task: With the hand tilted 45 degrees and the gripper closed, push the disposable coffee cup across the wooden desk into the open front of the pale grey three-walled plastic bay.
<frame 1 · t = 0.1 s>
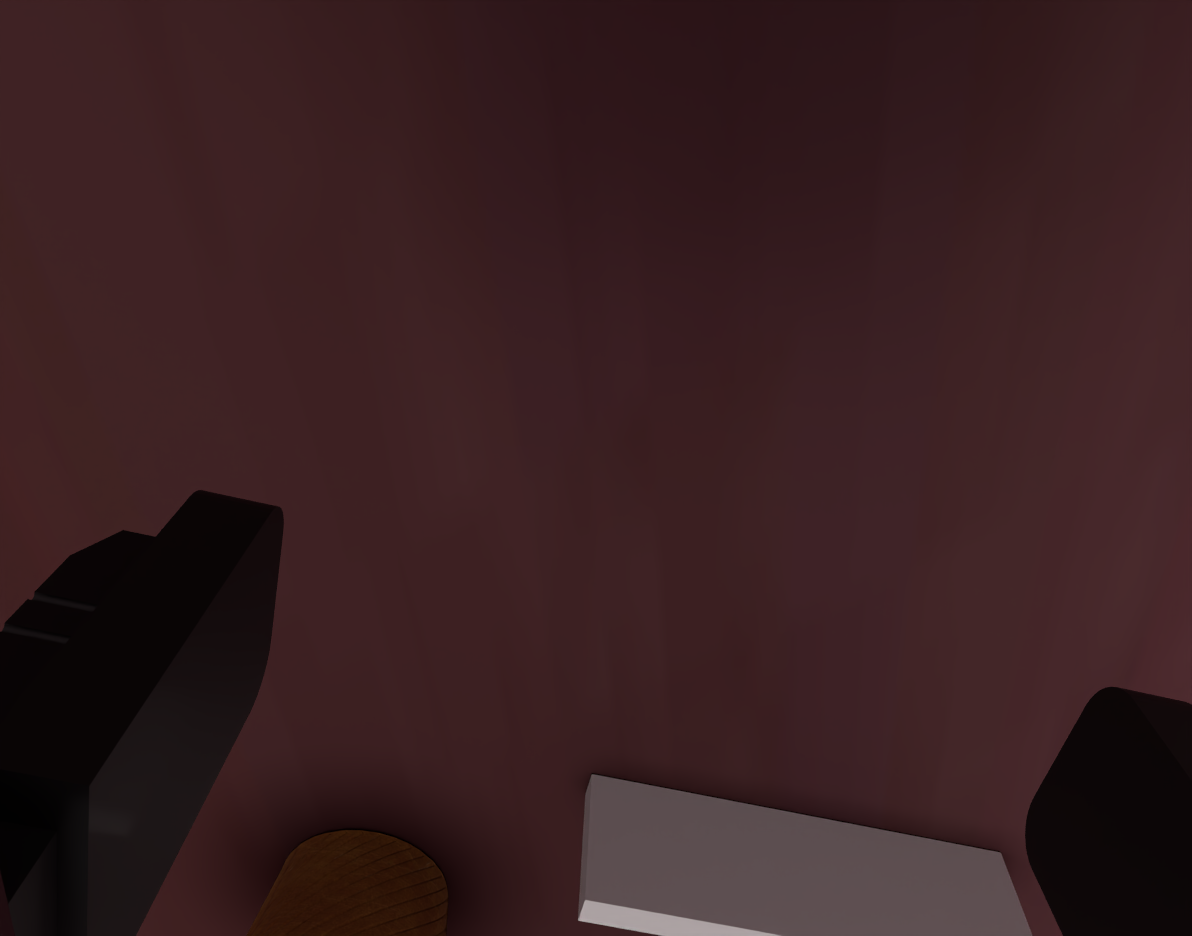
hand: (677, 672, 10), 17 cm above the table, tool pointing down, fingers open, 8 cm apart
disposable coffee cup: (366, 880, 38), on the table
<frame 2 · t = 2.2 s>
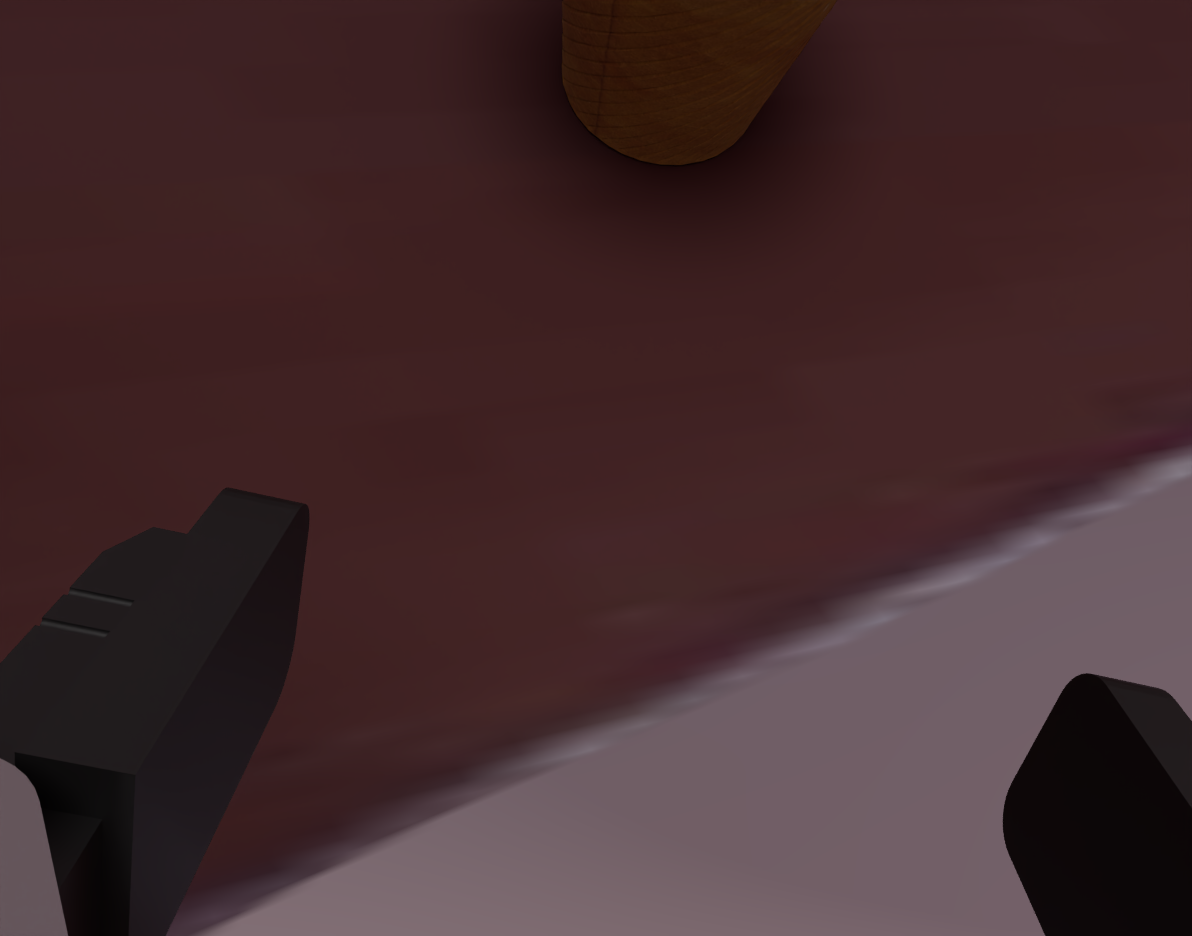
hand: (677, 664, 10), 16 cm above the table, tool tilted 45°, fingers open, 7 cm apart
disposable coffee cup: (658, 85, 32), on the table
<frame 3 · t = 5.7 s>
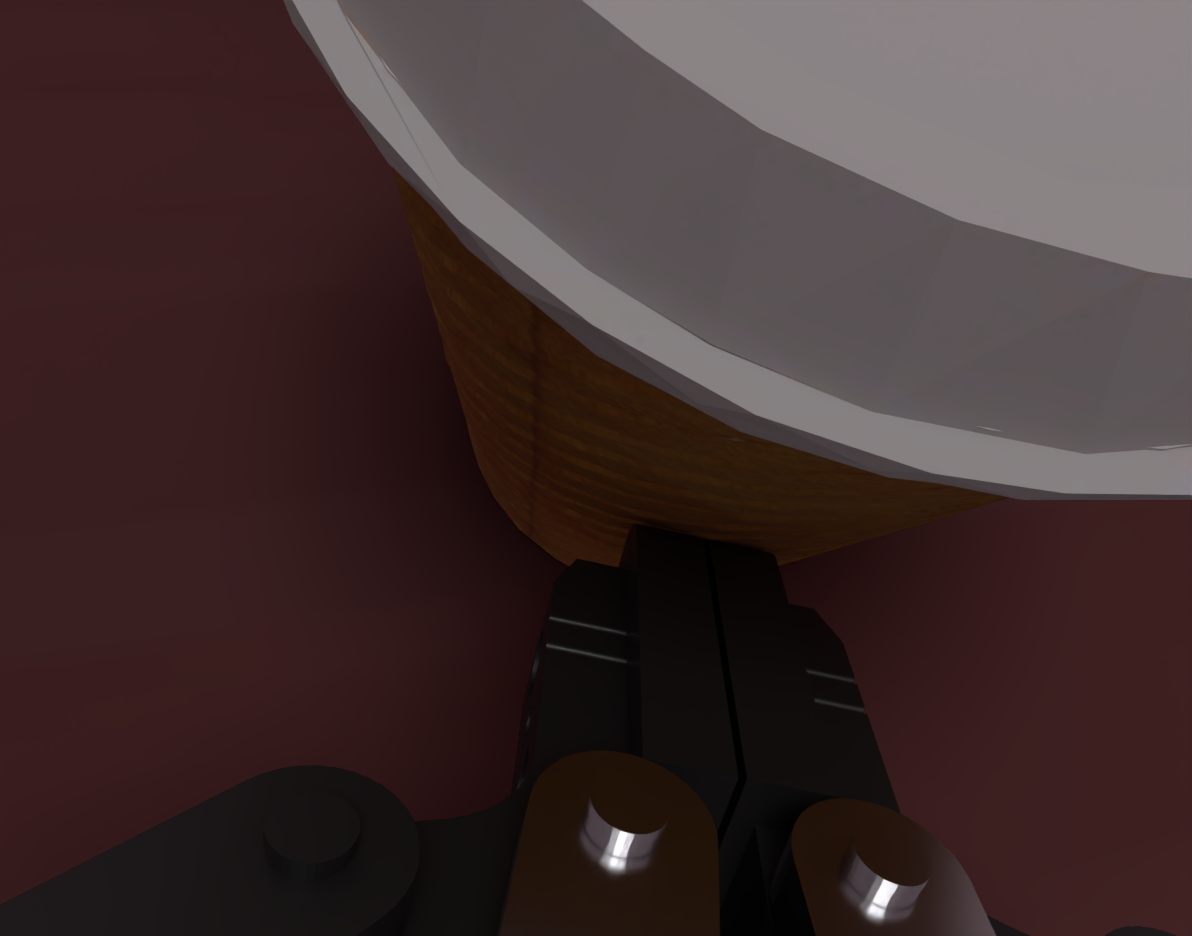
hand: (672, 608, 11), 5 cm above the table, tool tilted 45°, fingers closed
disposable coffee cup: (653, 411, 17), on the table, touching gripper
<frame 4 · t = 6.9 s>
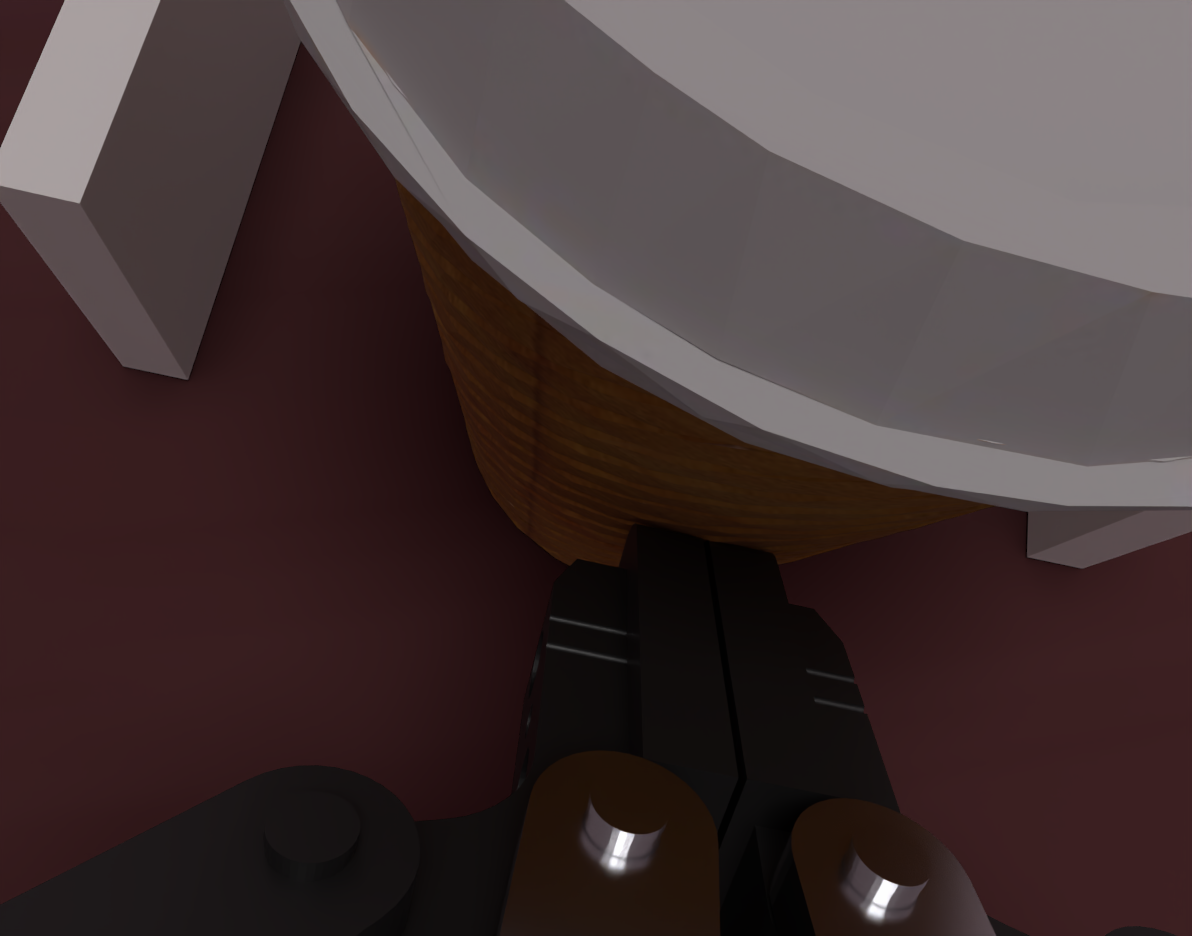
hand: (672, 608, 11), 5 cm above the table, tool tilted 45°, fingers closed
grey bay: (686, 98, 19), on the table
disposable coffee cup: (651, 409, 17), on the table, touching gripper
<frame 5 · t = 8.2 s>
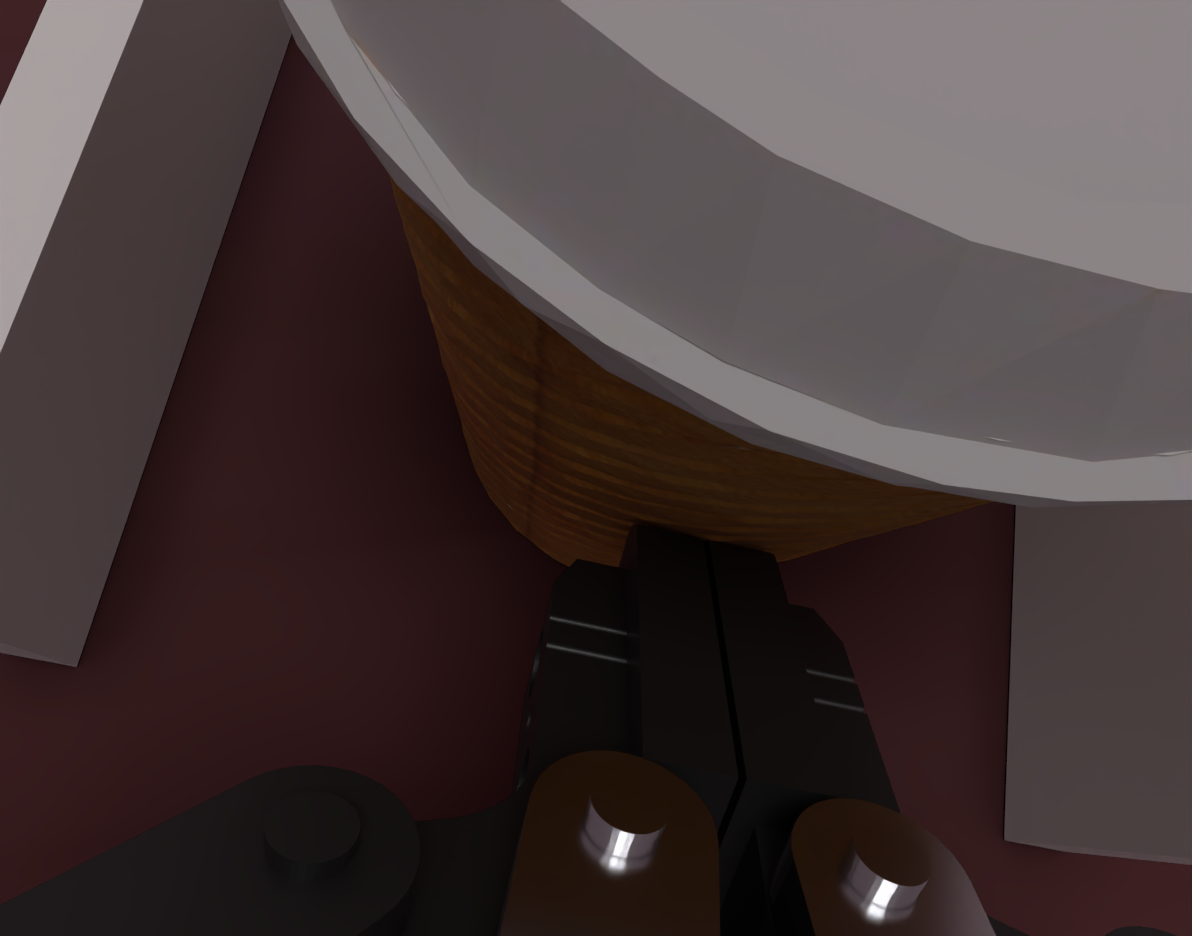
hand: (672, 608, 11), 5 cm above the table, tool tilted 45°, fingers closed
grey bay: (639, 310, 17), on the table
disposable coffee cup: (646, 409, 17), on the table, touching gripper
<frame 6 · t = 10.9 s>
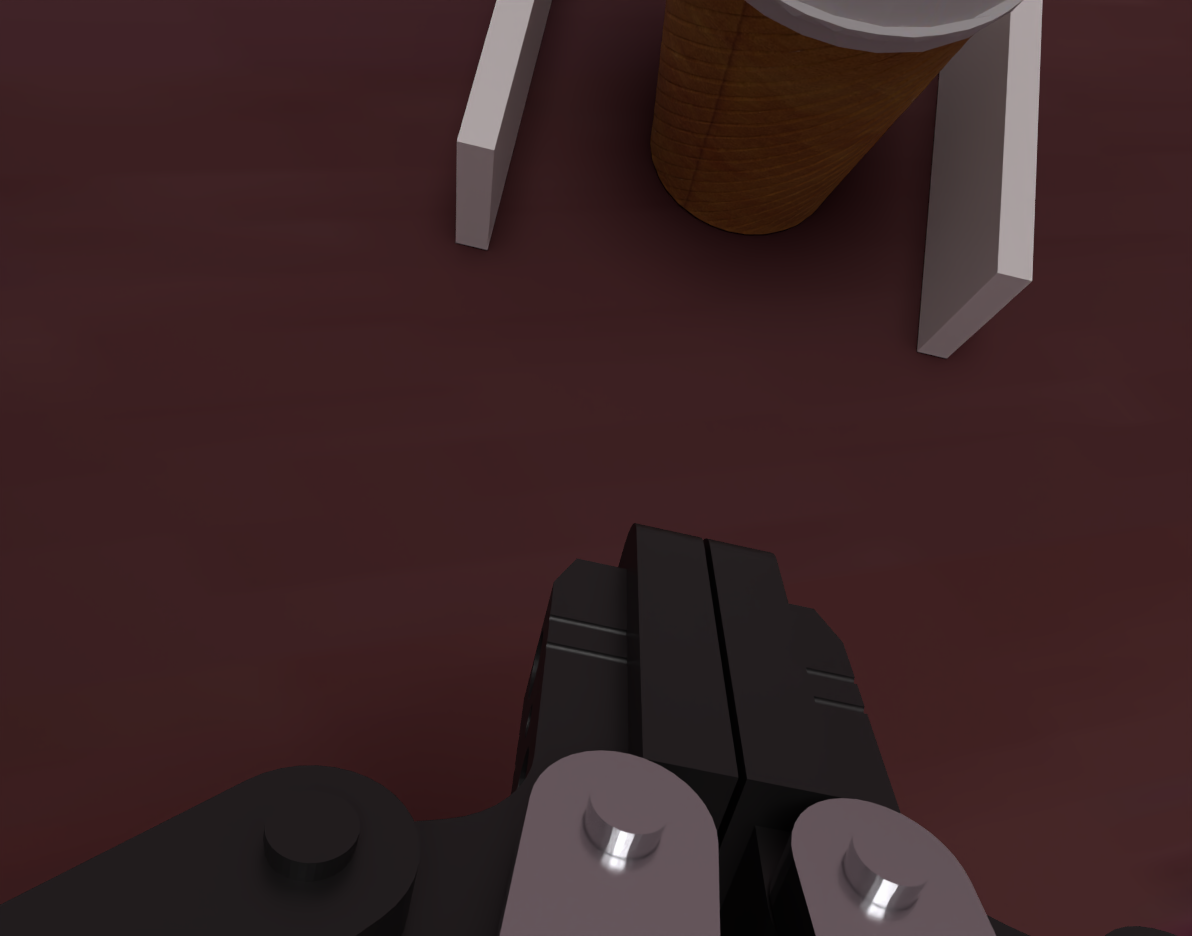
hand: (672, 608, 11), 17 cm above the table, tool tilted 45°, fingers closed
grey bay: (737, 111, 34), on the table
disposable coffee cup: (740, 157, 34), on the table
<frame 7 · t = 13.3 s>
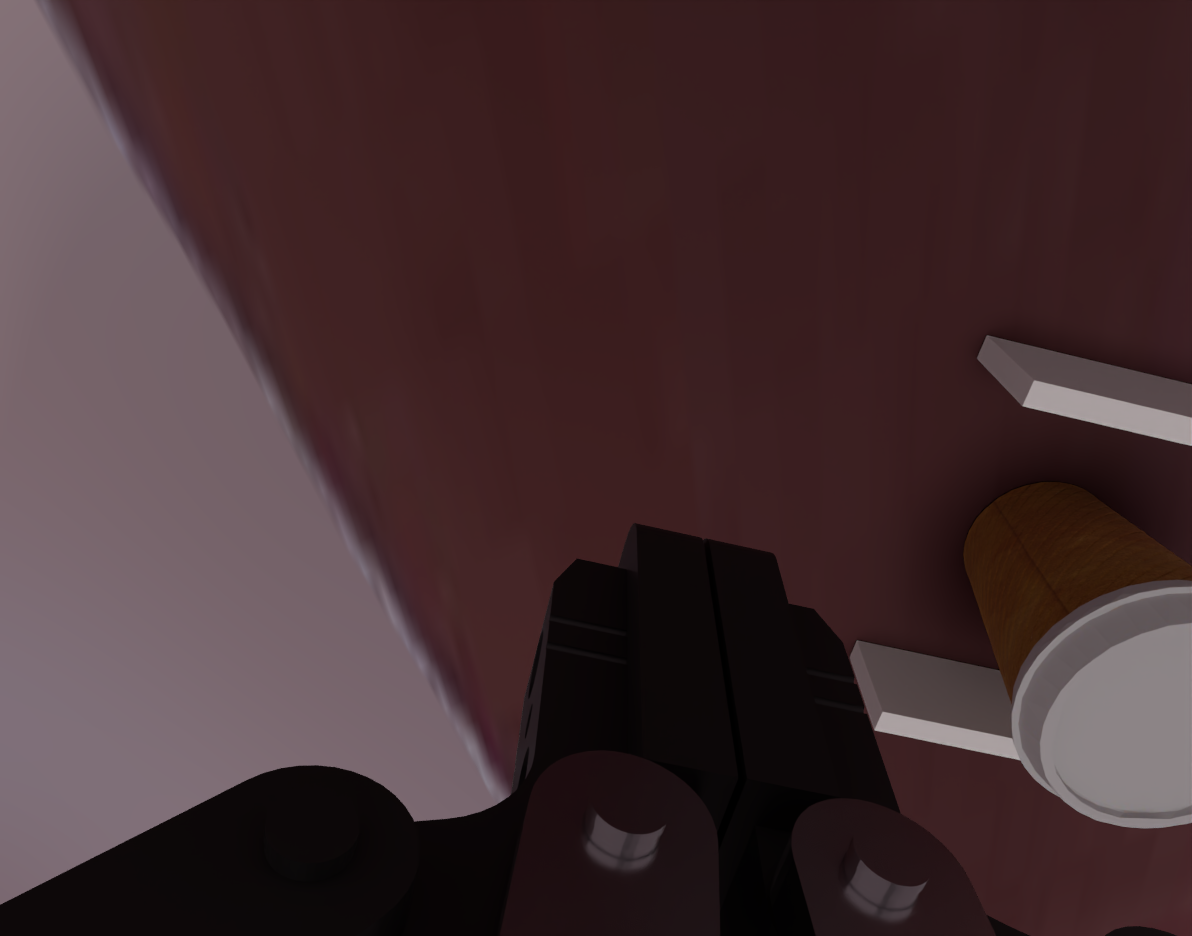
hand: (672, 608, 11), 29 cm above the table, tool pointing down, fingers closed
grey bay: (1076, 545, 43), on the table
disposable coffee cup: (1034, 543, 44), on the table
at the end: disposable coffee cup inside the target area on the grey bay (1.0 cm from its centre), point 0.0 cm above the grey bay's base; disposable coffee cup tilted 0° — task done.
